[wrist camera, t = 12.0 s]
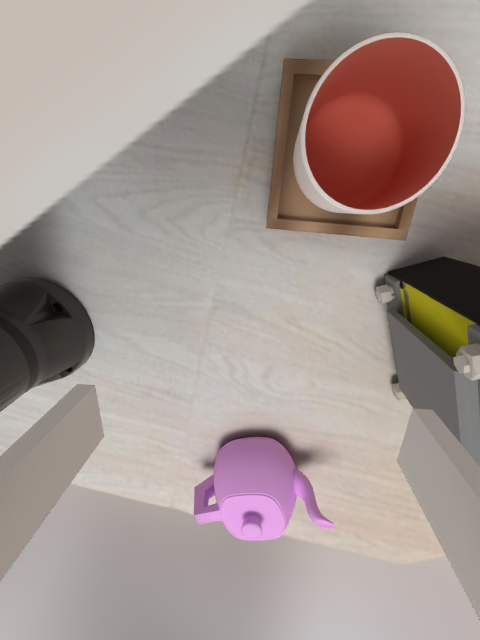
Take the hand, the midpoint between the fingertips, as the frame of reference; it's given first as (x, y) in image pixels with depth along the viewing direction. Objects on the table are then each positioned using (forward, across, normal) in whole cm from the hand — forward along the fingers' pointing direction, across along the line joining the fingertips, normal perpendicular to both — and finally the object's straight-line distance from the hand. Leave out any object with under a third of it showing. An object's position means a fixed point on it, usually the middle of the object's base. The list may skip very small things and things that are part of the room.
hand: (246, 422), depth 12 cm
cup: (+23, +8, +13) cm, 27 cm away
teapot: (+26, +2, -31) cm, 40 cm away
